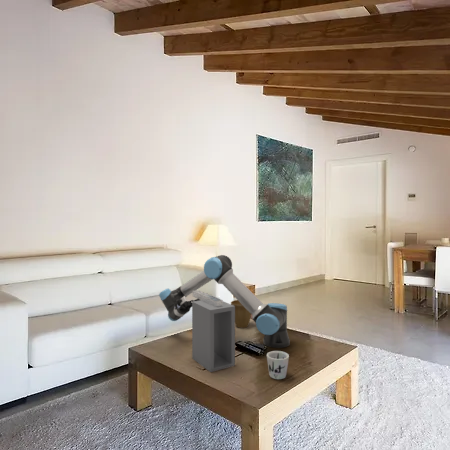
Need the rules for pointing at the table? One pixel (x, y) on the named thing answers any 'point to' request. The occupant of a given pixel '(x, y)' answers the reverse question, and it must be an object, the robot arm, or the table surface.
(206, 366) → the shelf
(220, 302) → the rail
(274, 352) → the mug
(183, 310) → the robot arm
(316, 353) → the table surface
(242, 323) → the plant pot
